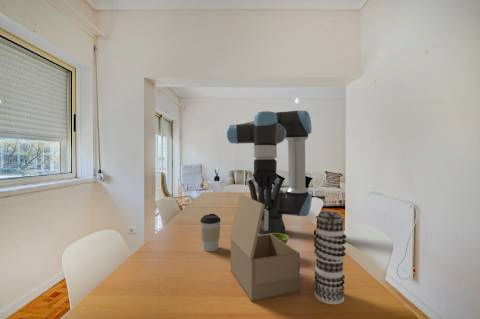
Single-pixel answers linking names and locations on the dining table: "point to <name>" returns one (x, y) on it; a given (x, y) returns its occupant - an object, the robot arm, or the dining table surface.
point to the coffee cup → (210, 232)
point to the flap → (247, 224)
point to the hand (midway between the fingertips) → (264, 229)
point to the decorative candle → (329, 258)
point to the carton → (266, 268)
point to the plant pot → (281, 237)
